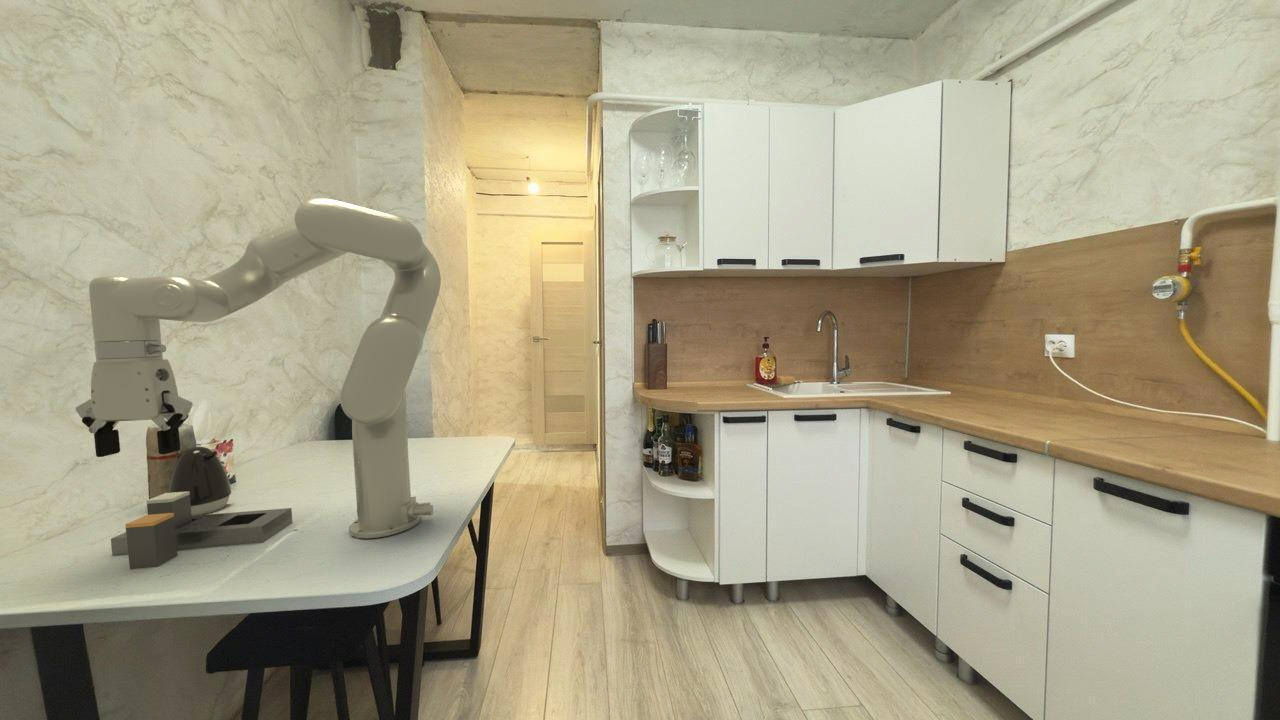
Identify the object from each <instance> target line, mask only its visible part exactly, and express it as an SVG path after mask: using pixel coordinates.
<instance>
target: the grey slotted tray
mask: <svg viewBox="0 0 1280 720" xmlns="http://www.w3.org/2000/svg"><path fill="white" fill-rule="evenodd" d="M292 511H293V510H292V507H287V508H286V507H285V508H273V509H260V510H259V509H258V510H246V511H238V512H237V511H236V512H235V511H234V512H224V513H207V514H203V515H196V516H192V522H190V523H188V524H186V525H184V526H182V527H180V528H178V529H176V530H175V531H176V542H177V551H181V550H192V549H206V548H215V547H216V548H217V547H225V546H236V545H250V544H260V543H264V542H265V543H266V541H268V540H269V539H271V538H272V537H274V536H276V535H277V534H279V533H280V532H281V531H282V530H284V529H286V528H287V527H288V526H290V525H292V524H293V513H292ZM110 545H111V555H112V556H124V555H125V556H126V555H128V546H127V536H126V531H125V532H123V533H120V534H119V535H116V536H113V537H112V538H110Z"/></svg>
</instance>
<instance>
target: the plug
mask: <svg viewBox="0 0 1280 720" xmlns="http://www.w3.org/2000/svg"><path fill="white" fill-rule="evenodd" d="M124 525H125V532H126V536H127V546H128V554H127V555H128V565H129V570H139V569H151V568H158V567H160V566H162V565H164V564H165V563H167V562H169V561H170V560H172V559H175V558H176V557H178V556H179V553H178V550H177V542H176V531H175V521H174V513H165V514H152V515H148V514H146V515H144V516H142V517H139V518H137V519H135V520H132V521H130V522H127V523H125V524H124Z"/></svg>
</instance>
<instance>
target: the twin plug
mask: <svg viewBox="0 0 1280 720" xmlns="http://www.w3.org/2000/svg"><path fill="white" fill-rule="evenodd" d="M146 510H147V515H152V514H165V513H174V521H175V530H176V529H178V528H180V527H182V526H184V525H186V524H188V523H190V522H192V514H191V503H190V493H189V491H188V492H174V493H165V494H162V495H159V496H157V497H154V498H152V499H149V498H148V499H147V500H146Z"/></svg>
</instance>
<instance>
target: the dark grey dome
mask: <svg viewBox="0 0 1280 720" xmlns="http://www.w3.org/2000/svg"><path fill="white" fill-rule="evenodd" d="M217 455H218V451H217V450H211V449H210V448H208V447H206V446H196V447H193V448H190V449H188V450H186V451H185V452H183V453H182V454H181V456H180V457H179V459H178V460H177V462H176V464H175V467H174V469H173V472H172V475H171V479H170V483H169V489H168V493H174V492H188V491H189V493H190V503H191V514H192V516H196V515H208V514H212V513H214V512H216V511H219V510H222V509H223V508H225V506H227V504H228V502H229V500H230V495H232V487H231V483H230V480H229V475H228V474H227V471H226V470H225V467H224V465H223V464H222V462H221V460H220V459H219V457H218V456H217Z"/></svg>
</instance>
